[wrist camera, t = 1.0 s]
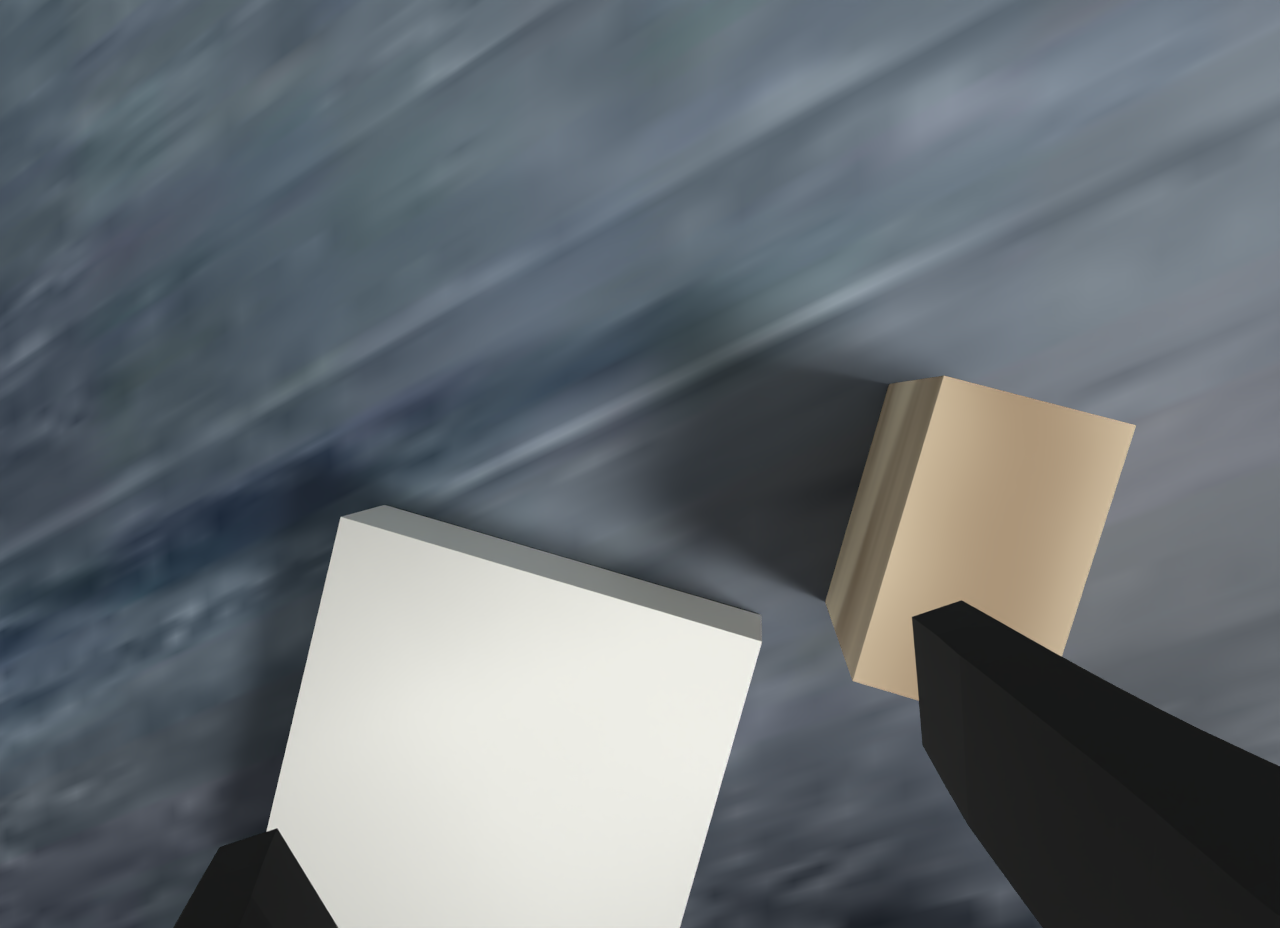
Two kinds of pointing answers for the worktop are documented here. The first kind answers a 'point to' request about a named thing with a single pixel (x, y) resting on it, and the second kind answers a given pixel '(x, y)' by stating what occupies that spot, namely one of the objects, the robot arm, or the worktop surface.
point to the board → (505, 734)
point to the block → (970, 520)
